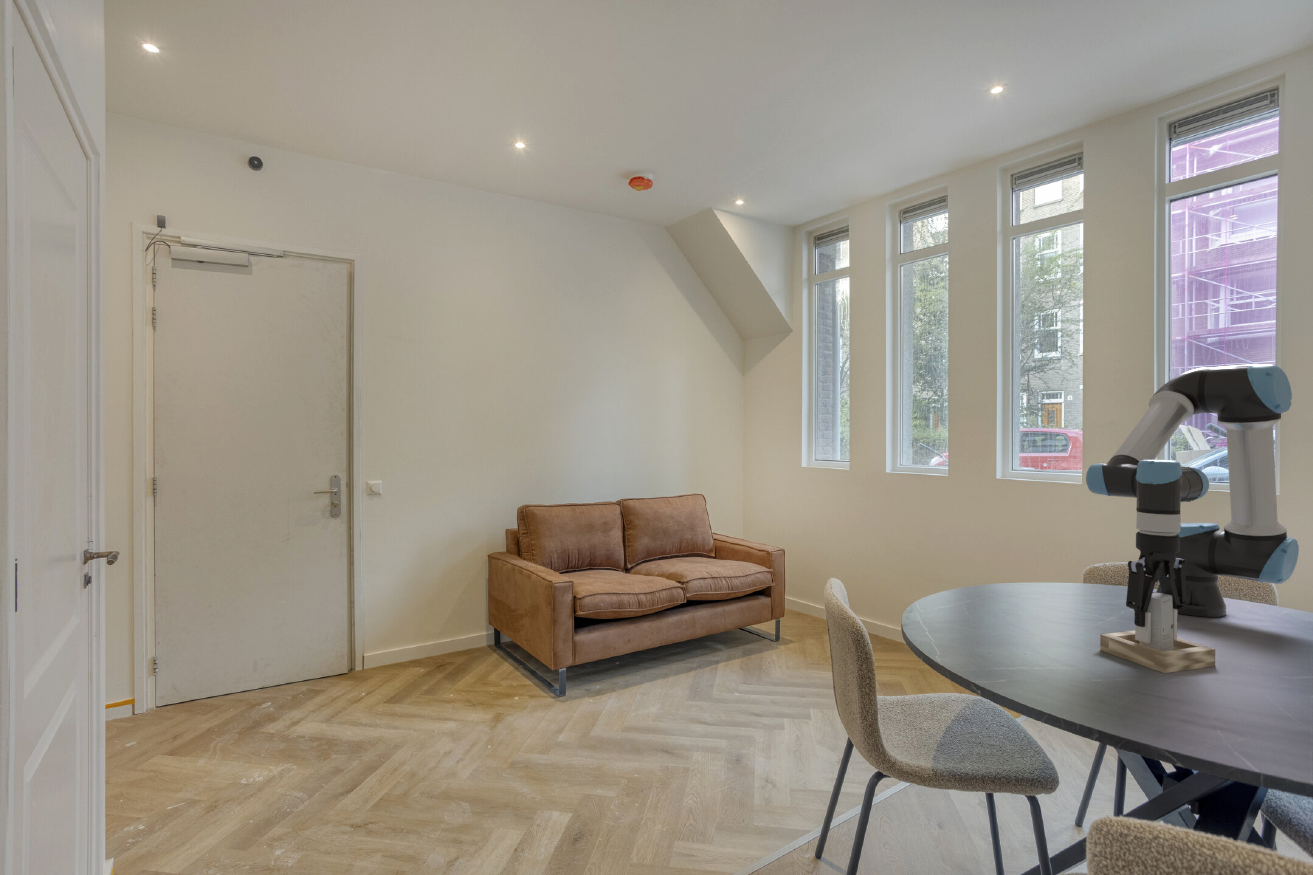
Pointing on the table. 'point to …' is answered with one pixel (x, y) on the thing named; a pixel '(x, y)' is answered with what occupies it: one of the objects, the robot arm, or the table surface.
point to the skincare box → (1161, 622)
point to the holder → (1158, 653)
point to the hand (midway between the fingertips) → (1156, 639)
